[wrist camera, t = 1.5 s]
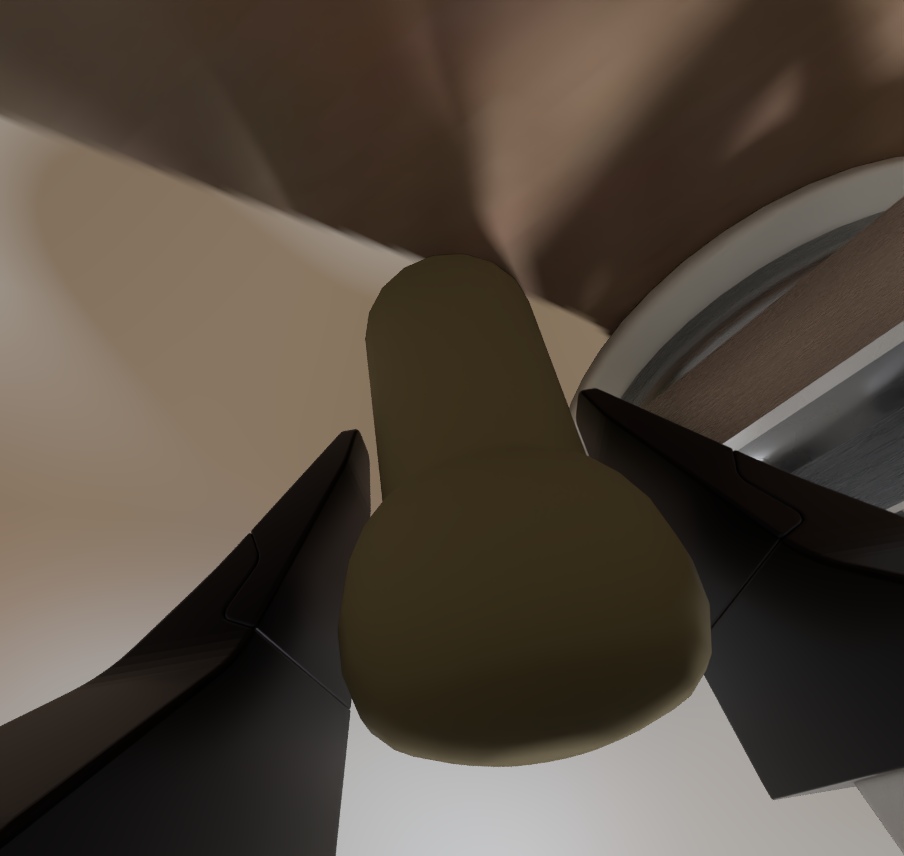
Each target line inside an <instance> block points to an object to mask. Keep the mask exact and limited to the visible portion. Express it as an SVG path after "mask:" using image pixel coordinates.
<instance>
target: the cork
mask: <svg viewBox="0 0 904 856" xmlns="http://www.w3.org/2000/svg"><path fill="white" fill-rule="evenodd" d="M365 340H366V350H367V359H368V369H369V378H370V387H371V397H372V406H373V415H374V425H375V435H376V444H377V454H378V462H379V472H380V482H381V491H382V501H383V502H382V503H381V505H380V506H379V507H378V508H377V510H376V511H375V512H374V513H373V515H372V516H371V517H370V518H369V520H368V521H367V522H366V524H365V525H364V526H363V529H362V531H361V533H360V536H359V538H358V541H357V543H356V545H355V548H354V550H353V552H352V555H351V557H350V559H349V564H348V570H347V575H346V580H345V585H344V591H343V597H342V604H341V610H340V617H339V623H338V630H337V631H338V641H339V651H340V662H341V672H342V676H343V679H344V681H345V683H346V686H347V688H348V690H349V693H350V695H351V697H352V700H353V702H354V704H355V707H356V709H357V711H358V714H359V716H360V718H361V720H362V721H363V723H364V724H365V725H366V727H367V728H368V729H369V730H370V732H371V733H372V734H373V735H375V736H376V737H378V738H379V739H380V740H382V741H383V742H384V743H386V744H387V745H389V746H390V747H391V748H393V749H394V750H396V751H399V752H402V753H405V754H408V755H410V756H413V757H420V758H425V759H430V760H435V761H441V762H446V763H451V764H459V765H469V766H491V767H492V766H493V767H501V766H502V767H505V766H507V767H509V766H522V765H531V764H538V763H545V762H550V761H555V760H560V759H565V758H569V757H573V756H576V755H580V754H584V753H587V752H590V751H593V750H596V749H598V748H601V747H603V746H606V745H608V744H611V743H613V742H615V741H618V740H620V739H622V738H624V737H627V736H628V735H631V734H633V733H635V732H637V731H639V730H640V729H642V728H644V727H646V726H647V725H649V724H650V723H652V722H654V721H655V720H657V719H659V718H660V717H662V716H664V715H665V714H667V713H668V712H670V711H672V710H673V709H675V708H676V707H677V706H679V705H680V704H681V703H682V702H683V701H685V700H686V699H687V698H689V697H690V696H691V695H692V693H693V691H694V690H695V688H696V686H697V685H698V683H699V681H700V679H701V678H702V676H703V675H704V673H705V671H706V669H707V666H708V663H709V660H710V657H711V654H712V646H711V623H710V604H709V601H708V598H707V596H706V593H705V591H704V588H703V585H702V583H701V580H700V578H699V575H698V572H697V570H696V567H695V565H694V562H693V560H692V558H691V557H690V555H689V554H688V552H687V551H686V549H685V547H684V546H683V544H682V543H681V541H680V540H679V538H678V537H677V535H676V534H675V532H674V531H673V530H672V528H671V527H670V526H669V524H668V523H667V521H666V520H665V519H664V517H663V516H662V514H661V513H660V512H659V510H658V509H657V507H656V506H655V505H654V503H653V502H652V501H651V499H650V498H649V497H648V496H647V495H646V494H644V493H643V492H642V491H641V490H640V489H638V488H637V487H636V486H635V485H634V484H632V483H631V482H630V481H629V480H628V479H627V478H625V477H624V476H623V475H622V474H621V473H619V472H618V471H616V470H614V469H612V468H610V467H608V466H606V465H604V464H602V463H601V462H599V461H597V460H595V459H593V458H591V457H589V456H587V455H586V453H585V450H584V447H583V445H582V442H581V439H580V436H579V434H578V431H577V428H576V426H575V423H574V420H573V418H572V415H571V412H570V410H569V407H568V405H567V402H566V399H565V397H564V394H563V391H562V389H561V386H560V383H559V380H558V378H557V375H556V372H555V370H554V367H553V365H552V362H551V359H550V357H549V354H548V351H547V348H546V346H545V343H544V341H543V338H542V335H541V332H540V330H539V327H538V324H537V322H536V319H535V316H534V314H533V311H532V308H531V306H530V303H529V301H528V299H527V298H526V296H525V294H524V293H523V291H522V290H521V288H520V287H519V285H518V284H517V282H516V280H515V279H514V278H513V277H511V276H510V275H509V274H507V273H506V272H505V271H503V270H502V269H501V268H499V267H498V266H497V265H495V264H494V263H492V262H490V261H487V260H483V259H480V258H476V257H473V256H469V255H466V254H451V255H436V256H431V257H428V258H426V259H424V260H421V261H419V262H417V263H414V264H412V265H410V266H408V267H405V268H404V269H403V270H401V271H400V272H399V273H398V274H397V275H396V276H395V277H394V278H393V279H391V280H390V281H389V282H388V283H387V284H386V285H385V286H384V287H383V288H382V290H381V291H380V293H379V295H378V297H377V299H376V301H375V303H374V305H373V306H372V308H371V310H370V312H369V317H368V324H367V331H366V338H365Z"/></svg>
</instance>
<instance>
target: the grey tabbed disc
mask: <svg viewBox="0 0 904 856" xmlns="http://www.w3.org/2000/svg"><path fill="white" fill-rule="evenodd" d="M620 399H622V400H625V401H627V402H629V403H631V404H634V405H636V406H638V407H640V408H643V409H645V410H647V411H649V412H652V413H654V414H656V415H658V416H661V417H663V418H665V419H667V420H670V421H672V422H674V423H676V424H678V425H681V426H683V427H685V428H687V429H690V430H692V431H694V432H696V433H699V434H701V435H703V436H705V437H708V438H710V439H712V440H714V441H717V442H719V443H721V444H723V445H726V446H728V447H730V448H732V449H733V451H734V450H737V451H739V452H742V453H744V454H746V455H748V456H750V457H753V458H755V459H757V460H760V461H762V462H764V463H767V464H769V465H771V466H774V467H776V468H778V469H781V470H783V471H786V472H788V473H791V474H793V475H796V476H798V477H801V478H803V479H806V480H809V481H811V482H814V483H816V484H819V485H821V486H824V487H827V488H829V489H832V490H835V491H837V492H840V493H843V494H845V495H848V496H851V497H853V498H856V499H859V500H861V501H864V502H866V503H869V504H872V505H874V506H877V507H880V508H882V509H885V510H888V511H890V512H893V513H896V514H898V515H901V516H903V517H904V196H903V197H902V198H901V199H900V200H898V201H897V202H896V203H895V204H894V205H892V206H891V207H890V208H889V209H887V210H886V211H883V212H879V213H877V214H874V215H871V216H868V217H866V218H863V219H860V220H857V221H854V222H852V223H849V224H846V225H843V226H841V227H838V228H836V229H834V230H832V231H830V232H828V233H825V234H823V235H821V236H819V237H817V238H815V239H813V240H811V241H808V242H806V243H804V244H802V245H800V246H798V247H796V248H794V249H793V250H791V251H789V252H787V253H786V254H784V255H782V256H781V257H779V258H777V259H775V260H774V261H772V262H770V263H768V264H767V265H765V266H763V267H762V268H760V269H758V270H757V271H755V272H754V273H752V274H751V275H749V276H748V277H746V278H745V279H744V280H742V281H741V282H739V283H738V284H736V285H735V286H733V287H732V288H731V289H729V290H728V291H726V292H725V293H723V294H722V295H721V296H719V297H718V298H717V299H716V300H714V301H713V302H712V303H711V304H709V305H708V306H707V307H706V308H705V309H703V310H702V311H701V312H700V313H698V314H697V315H696V316H695V317H694V318H692V319H691V320H690V321H689V322H688V323H687V324H685V325H684V326H683V327H682V328H681V329H680V330H679V331H678V332H677V333H676V334H675V335H674V336H673V337H672V338H671V339H670V340H669V341H668V342H667V343H666V344H665V345H664V346H663V347H662V348H660V350H659V351H658V352H657V353H656V354H655V355H654V356H653V358H652V359H651V360H650V361H649V362H648V363H647V364H646V366H645V367H644V368H643V369H642V370H641V371H640V372H639V374H638V375H637V376H636V378H635V379H634V380H633V382H632V383H631V384H630V386H629V387H628V389H627V390H626V391H625V393H624V394H623V396H622V397H621V398H620Z"/></svg>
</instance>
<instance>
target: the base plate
mask: <svg viewBox="0 0 904 856" xmlns="http://www.w3.org/2000/svg"><path fill="white" fill-rule="evenodd" d="M903 196H904V156H901V157H894V158H890V159H886V160H882V161H877V162H873V163H869V164H865V165H861V166H857V167H853V168H850V169H848V170H845V171H842V172H840V173H837V174H834V175H832V176H829V177H827V178H824V179H821V180H819V181H816V182H813V183H811V184H808V185H806V186H804V187H802V188H800V189H798V190H796V191H794V192H792V193H790V194H788V195H786V196H784V197H782V198H780V199H778V200H776V201H774V202H772V203H770V204H768V205H766V206H764V207H762V208H761V209H759V210H758V211H756V212H754V213H753V214H751V215H749V216H748V217H746V218H745V219H743V220H741V221H740V222H738V223H737V224H735V225H733V226H732V227H730V228H729V229H727V230H725V231H724V232H722V233H721V234H719V235H718V236H717V237H715V238H714V239H713V240H711V241H710V242H709V243H707V244H706V245H705V246H704V247H702V248H701V249H700V250H698V251H697V252H696V253H694V254H693V255H692V256H690V257H689V258H688V259H686V260H685V261H684V262H682V263H681V264H680V265H679V266H678V267H677V268H676V269H675V270H674V271H672V272H671V273H670V274H669V275H668V276H667V277H666V278H665V279H664V280H662V281H661V282H660V283H659V284H658V285H657V286H656V287H655V288H653V289H652V290H651V291H650V292H649V293H648V294H647V295H646V297H645V298H644V299H643V300H642V301H641V302H640V303H639V304H638V305H637V306H636V307H635V308H634V309H633V310H632V312H631V313H630V314H629V315H628V316H627V317H626V318H625V319H624V320H623V321H622V322H621V324H620V325H619V326H618V328H617V329H616V330H615V332H614V333H613V334H612V335H611V337H610V338H609V339H608V341H607V342H606V343H605V344H604V346H603V347H602V348H601V350H600V351H599V353H598V354H597V356H596V358H595V359H594V361H593V362H592V364H591V366H590V367H589V369H588V371H587V372H586V374H585V375H584V377H583V379H582V381H581V383H580V385H579V388H578V389H577V391H576V394H575V396H574V398H573V400H572V402H571V405H570V408H569V410H570V412H571V415H572V418H573V420H574V423H575V426H576V428H577V431H578V434H579V436H580V439H581V442H582V445H583V447H584V450H585V453H586V455H587V456H589V455H588V452H587V450H586V447H585V444H584V442H583V439H582V437H581V434H580V432H579V429H578V426H577V423H576V410H577V400H578V394H579V392H580V391H581V390H586V389H592V388H597V389H600V390H602V391H604V392H607V393H609V394H611V395H613V396H616V397H618V398H621V397H622V396H623V394H624V393H625V391H626V390H627V389H628V387H629V386H630V384H631V383H632V382H633V380H634V379H635V378H636V376H637V375H638V374H639V372H640V371H641V370H642V369H643V368H644V367H645V366H646V364H647V363H648V362H649V361H650V360H651V359H652V358H653V356H654V355H655V354H656V353H657V352H658V351H659V350H660V348H662V347H663V346H664V345H665V344H666V343H667V342H668V341H669V340H670V339H671V338H672V337H673V336H674V335H675V334H676V333H677V332H678V331H679V330H680V329H681V328H682V327H683V326H684V325H685V324H687V323H688V322H689V321H690V320H691V319H692V318H694V317H695V316H696V315H697V314H698V313H700V312H701V311H702V310H703V309H705V308H706V307H707V306H708V305H709V304H711V303H712V302H713V301H714V300H716V299H717V298H718V297H719V296H721V295H722V294H723V293H725V292H726V291H728V290H729V289H731V288H732V287H733V286H735V285H736V284H738V283H739V282H741V281H742V280H744V279H745V278H746V277H748V276H749V275H751V274H752V273H754V272H755V271H757V270H758V269H760V268H762V267H763V266H765V265H767V264H768V263H770V262H772V261H774V260H775V259H777V258H779V257H781V256H782V255H784V254H786V253H787V252H789V251H791V250H793V249H794V248H796V247H798V246H800V245H802V244H804V243H806V242H808V241H811V240H813V239H815V238H817V237H819V236H821V235H823V234H825V233H828V232H830V231H832V230H834V229H836V228H838V227H841V226H843V225H846V224H849V223H852V222H854V221H857V220H860V219H863V218H866V217H868V216H871V215H874V214H877V213H879V212H883V211H886V210H887V209H889V208H890V207H891V206H892V205H894V204H895V203H896V202H897V201H898V200H900V199H901V198H902V197H903Z"/></svg>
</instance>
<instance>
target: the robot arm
mask: <svg viewBox="0 0 904 856" xmlns="http://www.w3.org/2000/svg"><path fill="white" fill-rule="evenodd" d="M576 423H577V426H578V429H579V432H580V434H581V437H582V439H583V442H584V444H585V447H586V450H587V452H588V455H589V457H591V458H593V459H595V460H597V461H599V462H601V463H602V464H604V465H606V466H608V467H610V468H612V469H614V470H616V471H618V472H619V473H621V474H622V475H623V476H624V477H625V478H627V479H628V480H629V481H630V482H631V483H632V484H634V485H635V486H636V487H637V488H638V489H640V490H641V491H642V492H643V493H644V494H646V495H647V496H648V497H649V498H650V499H651V501H652V502H653V503H654V505H655V506H656V507H657V509H658V510H659V512H660V513H661V514H662V516H663V517H664V519H665V520H666V521H667V523H668V524H669V526H670V527H671V528H672V530H673V531H674V532H675V534H676V535H677V537H678V538H679V540H680V541H681V543H682V544H683V546H684V547H685V549H686V551H687V552H688V554H689V555H690V557H691V558H692V560H693V562H694V565H695V567H696V570H697V572H698V575H699V578H700V580H701V583H702V585H703V588H704V591H705V593H706V596H707V598H708V601H709V604H710V623H711V646H712V654H711V657H710V660H709V663H708V666H707V669H706V671H705V673H704V676H705V678H706V679H707V681H708V683H709V685H710V687H711V689H712V691H713V692H714V694H715V696H716V698H717V700H718V702H719V704H720V705H721V707H722V709H723V711H724V713H725V715H726V716H727V718H728V720H729V722H730V724H731V726H732V728H733V730H734V731H735V733H736V735H737V737H738V739H739V741H740V743H741V744H742V746H743V748H744V750H745V752H746V754H747V756H748V757H749V759H750V761H751V763H752V765H753V767H754V768H755V770H756V772H757V774H758V776H759V778H760V780H761V782H762V783H763V785H764V787H765V788H766V790H767V792H768V794H769V795H770V797H771V798H772V799H773V800H776V799H782V798H789V797H794V796H801V795H807V794H812V793H819V792H825V791H831V790H837V789H842V788H848V787H855V786H856V787H857V788H858V790H859V791H860V792H861V794H862V795H863V797H864V798H865V800H866V801H867V803H868V804H869V805H870V807H871V808H872V810H873V811H874V812H875V814H876V815H877V817H878V818H879V820H880V821H881V822H882V824H883V825H884V827H885V828H886V830H887V831H888V832H889V834H890V835H891V837H892V838H893V839H894V841H895V842H896V844H897V845H898V847H899V848H900V849H901V851H902V852H903V854H904V517H903V516H901V515H898V514H896V513H893V512H890V511H888V510H885V509H882V508H880V507H877V506H874V505H872V504H869V503H866V502H864V501H861V500H859V499H856V498H853V497H851V496H848V495H845V494H843V493H840V492H837V491H835V490H832V489H829V488H827V487H824V486H821V485H819V484H816V483H814V482H811V481H809V480H806V479H803V478H801V477H798V476H796V475H793V474H791V473H788V472H786V471H783V470H781V469H778V468H776V467H774V466H771V465H769V464H767V463H764V462H762V461H760V460H757V459H755V458H753V457H750V456H748V455H746V454H744V453H742V452H739V451H737V450H734V451H733V449H732V448H730V447H728V446H726V445H723V444H721V443H719V442H717V441H714V440H712V439H710V438H708V437H705V436H703V435H701V434H699V433H696V432H694V431H692V430H690V429H687V428H685V427H683V426H681V425H678V424H676V423H674V422H672V421H670V420H667V419H665V418H663V417H661V416H658V415H656V414H654V413H652V412H649V411H647V410H645V409H643V408H640V407H638V406H636V405H634V404H631V403H629V402H627V401H625V400H622V399H620V398H618V397H616V396H613V395H611V394H609V393H607V392H604V391H602V390H600V389H597V388H592V389H586V390H581V391H580V392H579V394H578V400H577V410H576ZM370 506H371V504H370V462H369V454H368V451H367V449H366V446H365V444H364V441H363V439H362V436H361V434H360V432H359V431H358V430H357V429H354V430H348V431H343V432H341V433H340V434H339V435H338V436H337V437H336V438H335V440H334V441H333V442H332V443H331V444H330V445H329V446H328V447H327V448H326V449H325V450H324V452H323V453H322V454H321V455H320V456H319V457H318V458H317V459H316V460H315V461H314V462H313V464H312V465H311V466H310V467H309V468H308V469H307V470H306V471H305V472H304V473H303V475H302V476H301V477H300V478H299V479H298V480H297V481H296V482H295V483H294V484H293V486H292V487H291V488H290V489H289V490H288V491H287V492H286V493H285V494H284V495H283V496H282V498H281V499H280V500H279V501H278V502H277V503H276V504H275V505H274V506H273V508H271V510H270V511H269V512H268V513H267V514H266V515H265V516H264V517H263V518H262V520H261V521H260V522H259V523H258V524H257V525H256V526H255V527H254V528H253V529H252V531H251V533H252V534H251V533H249V534H248V535H247V536H246V537H245V538H244V539H243V540H242V541H241V542H240V544H238V546H237V547H236V548H235V549H234V550H233V551H232V552H231V553H230V554H229V555H228V556H227V557H226V558H225V559H224V560H223V561H222V562H221V563H220V565H219V566H218V567H217V568H216V569H215V570H214V571H213V572H212V573H211V574H210V575H209V576H208V577H207V578H206V579H205V580H203V581H202V582H201V583H200V584H199V585H198V586H197V587H196V588H195V589H194V590H193V591H192V592H191V593H190V594H189V595H188V596H187V597H186V598H185V599H184V600H183V601H182V602H181V603H180V604H179V605H178V606H177V607H175V608H174V609H173V610H172V611H171V612H170V613H169V614H168V615H167V616H166V617H165V618H164V619H163V620H162V621H161V622H160V623H159V624H158V625H157V626H156V627H155V628H153V629H152V630H151V631H150V632H149V633H148V634H147V635H146V636H145V637H144V638H143V639H142V640H141V641H140V642H139V643H138V644H137V645H136V646H135V647H134V648H132V649H131V650H130V651H129V652H128V653H127V654H126V655H125V656H123V657H122V658H121V659H120V660H119V661H118V662H116V663H115V664H114V665H112V666H111V667H110V668H108V669H107V670H106V671H104V672H103V673H101V674H100V675H98V676H97V677H95V678H94V679H92V680H90V681H89V682H87V683H86V684H84V685H82V686H80V687H78V688H77V689H75V690H73V691H71V692H69V693H67V694H65V695H63V696H61V697H59V698H57V699H55V700H53V701H51V702H49V703H47V704H45V705H43V706H40V707H39V708H37V709H34V710H33V711H30V712H28V713H26V714H24V715H22V716H20V717H18V718H16V719H14V720H12V721H10V722H8V723H6V724H4V725H2V726H0V856H336V846H337V837H338V836H337V835H338V827H339V817H340V808H341V797H342V788H343V778H344V768H345V759H346V748H347V739H348V730H349V720H350V710H349V709H350V707H351V699H352V697H351V695H350V693H349V690H348V688H347V686H346V683H345V681H344V679H343V676H342V672H341V662H340V651H339V641H338V631H337V630H338V623H339V617H340V610H341V604H342V597H343V591H344V585H345V580H346V575H347V570H348V564H349V559H350V557H351V555H352V552H353V550H354V548H355V545H356V543H357V541H358V538H359V536H360V533H361V531H362V529H363V526H364V525H365V524H366V522H367V521H368V520H369V518H370V512H371V510H370V509H371V508H370Z"/></svg>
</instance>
